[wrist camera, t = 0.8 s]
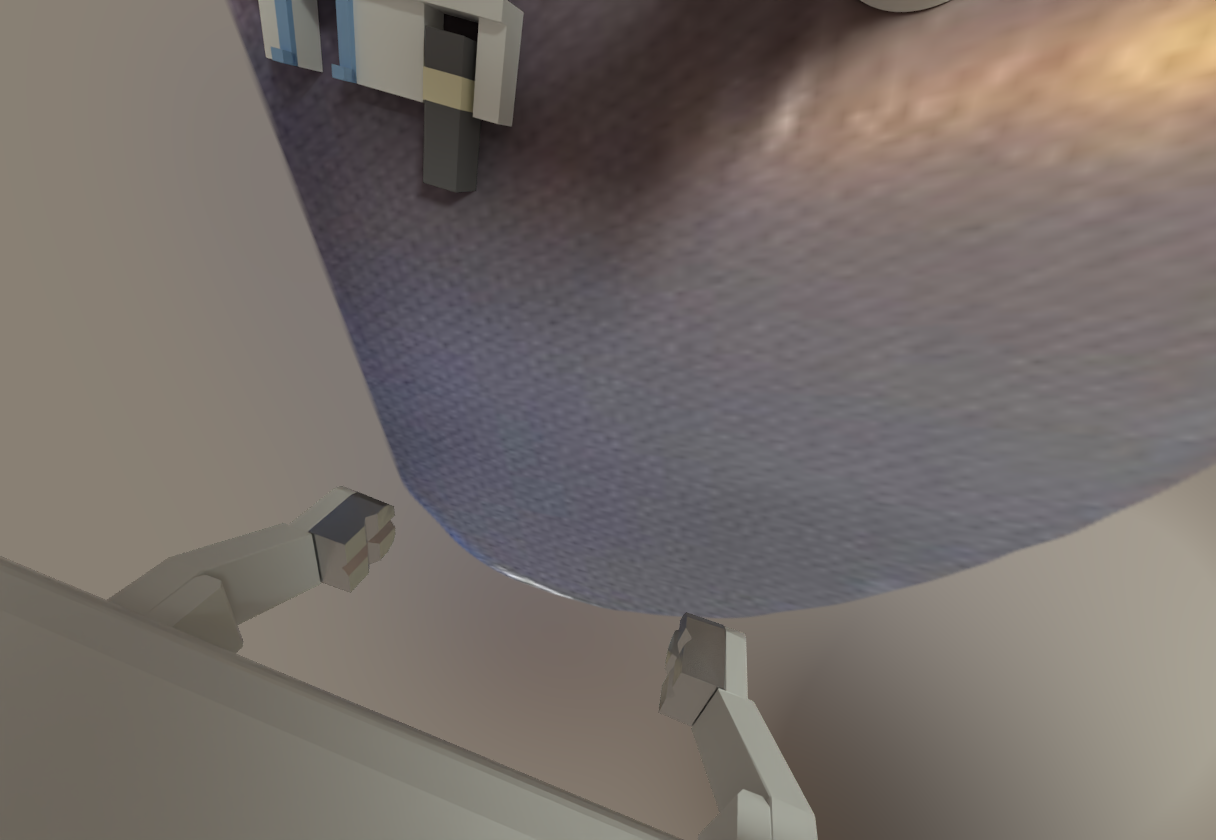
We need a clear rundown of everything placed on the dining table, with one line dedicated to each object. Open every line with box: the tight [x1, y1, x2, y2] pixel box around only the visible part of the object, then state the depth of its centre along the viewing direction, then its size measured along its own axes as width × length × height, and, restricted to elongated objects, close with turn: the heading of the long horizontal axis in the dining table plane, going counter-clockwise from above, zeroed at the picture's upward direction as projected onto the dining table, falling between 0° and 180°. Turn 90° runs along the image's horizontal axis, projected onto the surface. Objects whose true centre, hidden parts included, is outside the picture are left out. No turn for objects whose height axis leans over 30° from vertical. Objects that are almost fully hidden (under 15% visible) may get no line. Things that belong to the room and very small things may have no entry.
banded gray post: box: [423, 26, 481, 192], centre depth 42 cm, size 12×4×4 cm, turn 166°
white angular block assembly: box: [258, 0, 524, 127], centre depth 40 cm, size 8×24×5 cm, turn 76°
